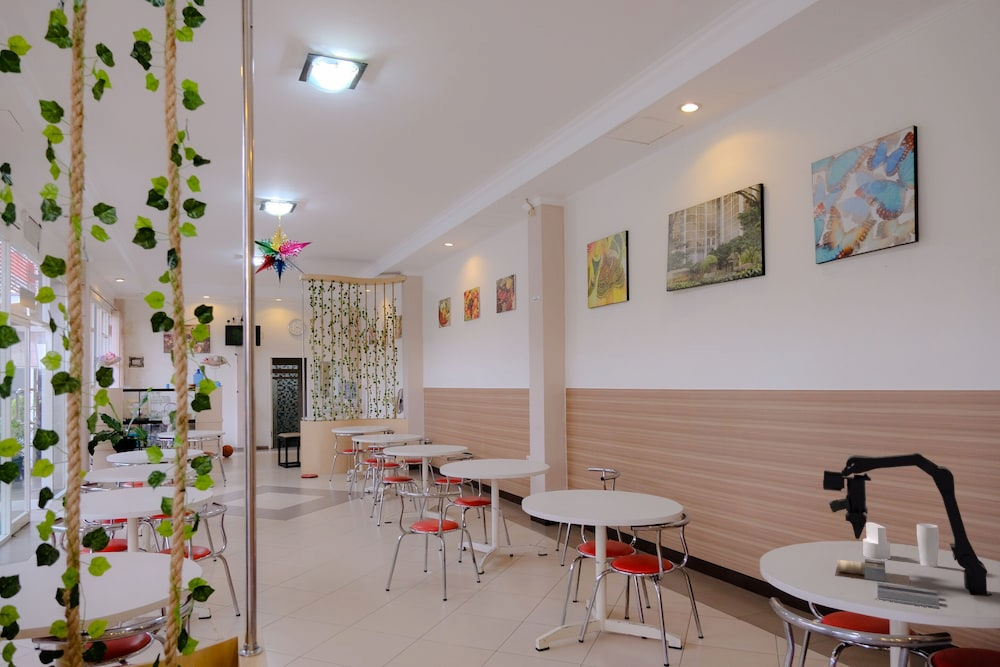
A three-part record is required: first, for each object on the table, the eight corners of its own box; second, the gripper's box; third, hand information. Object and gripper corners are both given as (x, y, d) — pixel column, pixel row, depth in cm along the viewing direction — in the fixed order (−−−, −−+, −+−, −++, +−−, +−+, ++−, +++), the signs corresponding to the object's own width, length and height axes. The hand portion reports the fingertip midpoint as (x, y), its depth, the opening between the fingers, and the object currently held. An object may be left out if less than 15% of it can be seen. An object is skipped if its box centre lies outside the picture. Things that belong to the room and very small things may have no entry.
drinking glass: (944, 570, 236) (942, 527, 237) (925, 570, 236) (923, 527, 237) (932, 564, 243) (931, 523, 244) (913, 564, 243) (912, 523, 244)
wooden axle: (884, 575, 227) (884, 563, 227) (884, 579, 224) (884, 566, 224) (838, 569, 234) (838, 558, 234) (837, 572, 231) (837, 561, 231)
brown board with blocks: (909, 578, 227) (908, 563, 227) (910, 588, 216) (909, 573, 217) (837, 569, 238) (836, 555, 238) (834, 578, 227) (834, 563, 228)
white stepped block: (895, 560, 249) (894, 527, 250) (871, 560, 249) (870, 527, 250) (882, 553, 258) (881, 522, 259) (858, 553, 258) (857, 522, 259)
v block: (937, 600, 206) (936, 590, 206) (939, 609, 198) (939, 599, 198) (877, 591, 214) (877, 582, 214) (877, 600, 206) (877, 590, 206)
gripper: (832, 486, 243) (833, 529, 242) (828, 494, 227) (829, 541, 226) (867, 489, 237) (868, 533, 236) (865, 497, 221) (867, 545, 220)
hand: (857, 538), depth 230 cm, fingers closed
